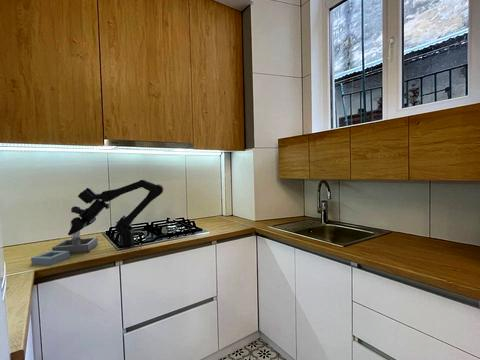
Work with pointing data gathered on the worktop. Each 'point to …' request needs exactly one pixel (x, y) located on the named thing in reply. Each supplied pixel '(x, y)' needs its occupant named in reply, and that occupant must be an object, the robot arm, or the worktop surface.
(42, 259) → the socket block
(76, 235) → the stop pin
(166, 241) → the worktop surface
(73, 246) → the tray
